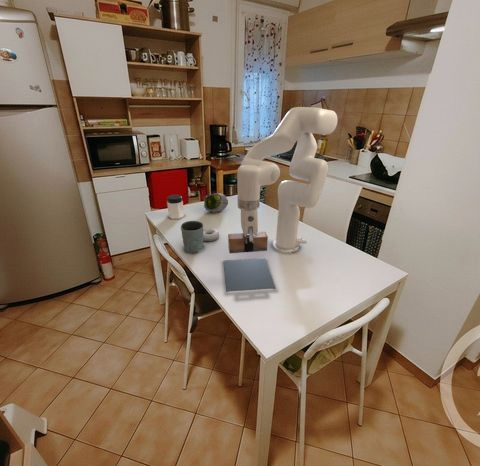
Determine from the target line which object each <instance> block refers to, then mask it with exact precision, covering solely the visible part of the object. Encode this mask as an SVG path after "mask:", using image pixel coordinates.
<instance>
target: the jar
mask: <svg viewBox="0 0 480 466" xmlns="http://www.w3.org/2000/svg"><path fill="white" fill-rule="evenodd" d="M166 205H167V213H168V217H169V218H170V219H171V220H179V219H182V218H183V217H185V210H184V201H183V197H182V195H180V194H171V195H168V196H166Z"/></svg>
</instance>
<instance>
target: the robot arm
mask: <svg viewBox="0 0 480 466" xmlns="http://www.w3.org/2000/svg"><path fill="white" fill-rule="evenodd" d="M338 119H339V118H338V115H337V113H336V112H335V111H334V110H331V109H326V108H321V107H314V106H313V107H311V106H296V107H291V108H290V109H289V110H288V111H287V112H286V114H285V115H284V117H283V118H282V120H281V122H280V123H279V125H278V126H277V128H275V131H274V132H273V134H271V135H269V136H267V137H265V138H264V139H262V140H261V141H259V142H257V143H255V144H254V145H253V146H252V147H251V148H249V150H248V151H247V153H246V154H245V155H244V157H243V159H242V160H241V163H240V166H238V168H237V172H236V175H237V177H236V181H237V183H236V185H237V186H236V187H237V208H238V209H239V210H240V226H241V230H242V231H241V232H242V233H243V234H244V236H245V252H244V253H254V252H253V247H254V242H253V233H254V235H255V236H258V232H259V218H258V217H259V216H258V209H259V208H260V205H261V204H260V203H261V187H264V186H270V185H273V184H274V183H276V182H277V181H278V179H279V178H280V176H281V170H280V167H279V165H277V164H276V163H274V162H272V161H265V160H264V159H266V158H269V157H272V156H277V155H280V154H284V153H287V152H290V151H291V150H292V149H293V147H294V146H295V144H296V146H295V150H294V153H293V156H292V158H291V162H290V165H289V168H288V174H289V176H290V177H291V178H293V179H296V180H301V181H306V182H309V183H305V182H301V181H296V180H291V179H288V180H287V179H286V180H283V181H281V182H280V183H279V185H278V186H277V187H278V188H277V200H278V201H277V202H278V208H277V209H278V210H277V211H278V212H277V214H278V215H277V223H276V233H275V234H276V236H275V239H274V240H273V241H272V242H271V244H272V246H273V247H274V248H275V249H276V250H279V251H281V252H290V253H295V252H297V251H298V250H299V249H300V245H303V244H305V245H306V244H307V242H308V240H307V239H303V237H298V232H299V225H300V218H301V217H300V216H301V211H300V207H302V208H306V209H313V208H315V207H316V205H317V204H318V202H319V199H320V197H321V194H322V191H323V188H324V185H325V183H326V180H327V177H328V172H329V164H328V162H327V161H326V160H325V159H322V158H317V157H316V153H317V151H318V143H317V140H316V139H315V137H314V134H317V135H331V134H333V132H334V131H335V130H336V128H337V126H338ZM247 237H249V239H247Z"/></svg>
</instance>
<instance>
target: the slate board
mask: <svg viewBox="0 0 480 466" xmlns="http://www.w3.org/2000/svg"><path fill="white" fill-rule="evenodd" d="M223 269H224V282H225V290H226V292H243V291H256V290H258V291H259V290H272V289H276V286H275V283H274V279H273V277H272V274H271V271H270V269H269V266H268V262H267V259H266V258H248V259H246V258H245V259H228V260H227V259H226V260H225V259H224V260H223Z"/></svg>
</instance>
